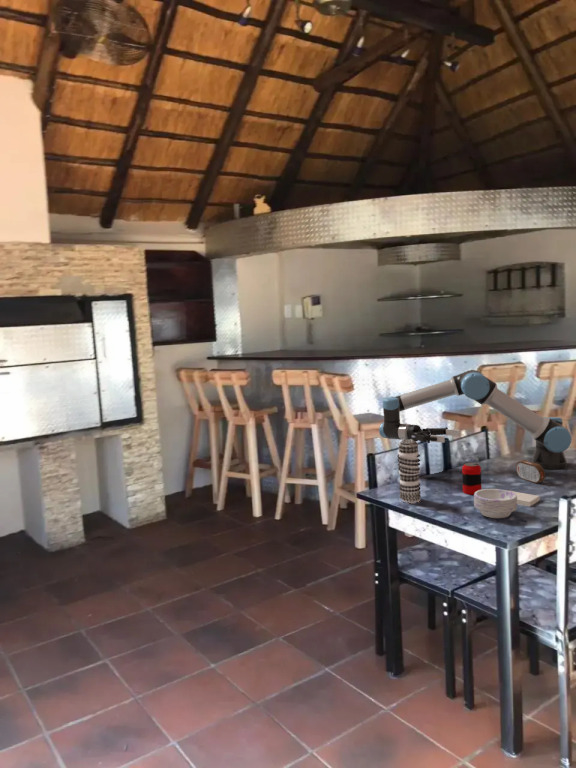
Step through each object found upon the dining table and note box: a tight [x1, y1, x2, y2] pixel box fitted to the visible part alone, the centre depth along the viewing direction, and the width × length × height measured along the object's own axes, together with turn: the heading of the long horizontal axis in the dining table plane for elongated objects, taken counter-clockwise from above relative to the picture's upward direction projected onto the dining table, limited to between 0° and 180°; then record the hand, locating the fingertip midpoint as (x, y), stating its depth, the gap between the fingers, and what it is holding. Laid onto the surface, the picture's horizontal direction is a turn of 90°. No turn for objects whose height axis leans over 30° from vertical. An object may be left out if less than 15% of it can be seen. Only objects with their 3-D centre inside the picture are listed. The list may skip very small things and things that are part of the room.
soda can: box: [461, 462, 482, 496], centre depth 255 cm, size 8×8×12 cm
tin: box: [515, 459, 546, 484], centre depth 266 cm, size 15×3×8 cm, turn 22°
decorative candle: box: [396, 439, 422, 504], centre depth 248 cm, size 9×9×25 cm
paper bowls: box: [473, 488, 518, 519], centre depth 227 cm, size 15×15×8 cm
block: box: [509, 490, 541, 507], centre depth 242 cm, size 2×9×13 cm
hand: (452, 436), depth 267 cm, fingers open, 13 cm apart
